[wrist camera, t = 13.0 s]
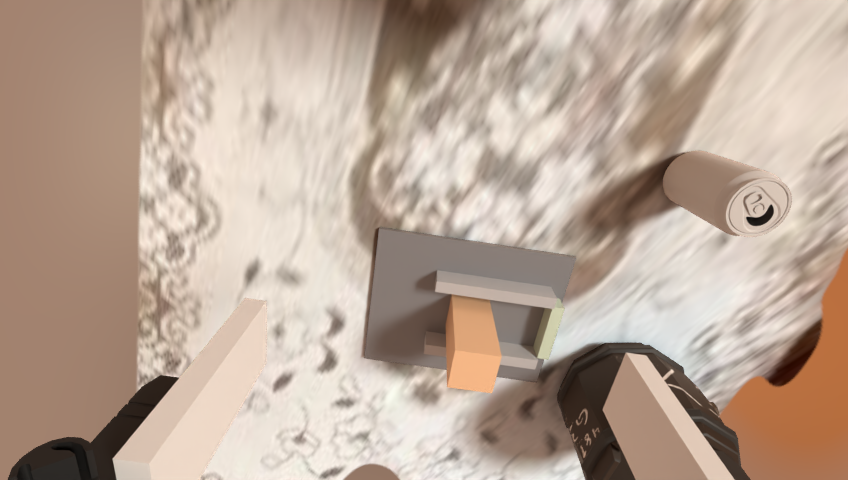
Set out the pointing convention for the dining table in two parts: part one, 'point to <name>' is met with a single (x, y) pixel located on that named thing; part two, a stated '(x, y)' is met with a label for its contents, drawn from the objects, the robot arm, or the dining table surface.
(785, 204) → the beverage can
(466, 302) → the block
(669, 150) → the dining table surface
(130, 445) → the robot arm
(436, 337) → the end holder
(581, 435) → the wooden barrel
